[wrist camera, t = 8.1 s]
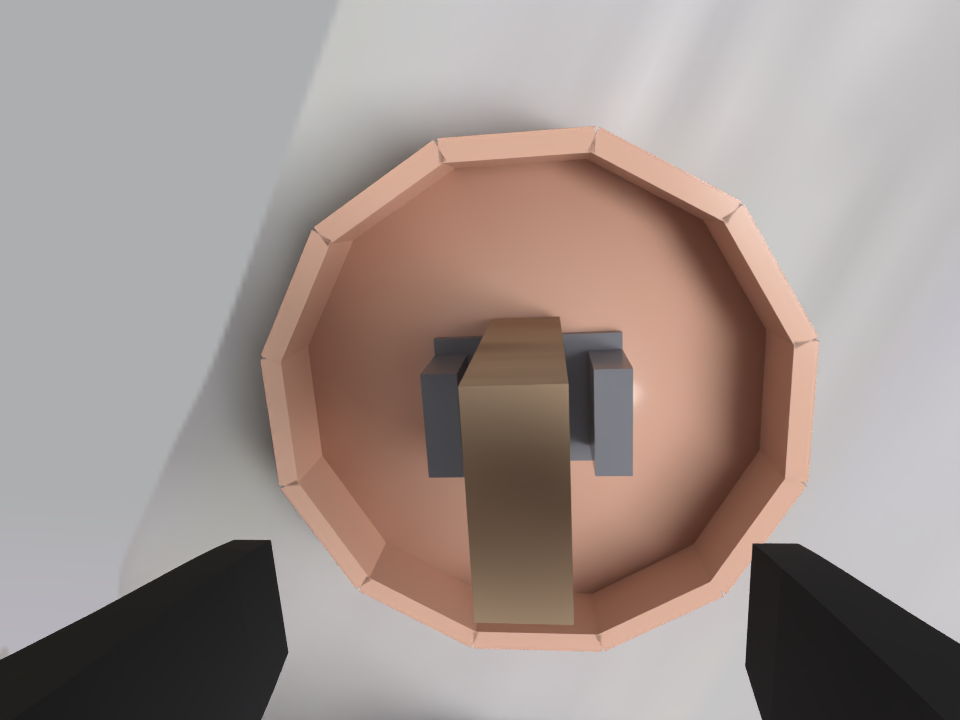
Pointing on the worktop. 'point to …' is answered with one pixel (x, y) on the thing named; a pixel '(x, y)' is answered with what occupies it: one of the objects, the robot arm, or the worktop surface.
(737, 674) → the worktop surface
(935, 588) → the worktop surface
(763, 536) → the candle dish
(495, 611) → the tan rectangular block
